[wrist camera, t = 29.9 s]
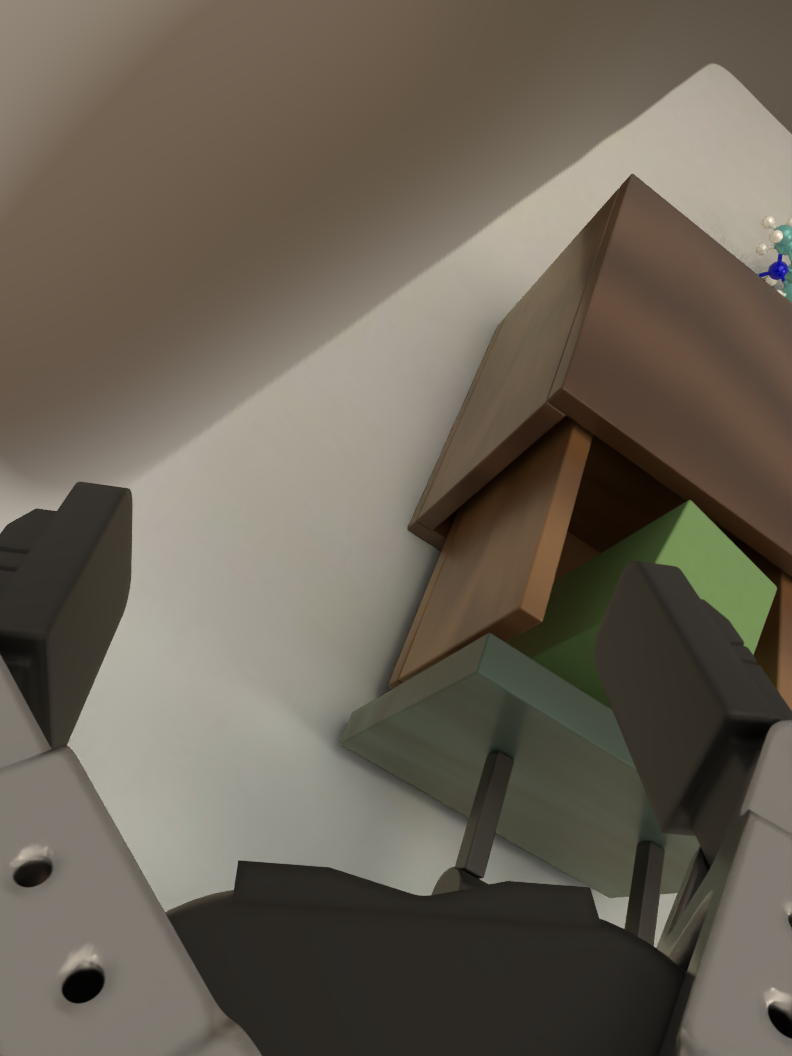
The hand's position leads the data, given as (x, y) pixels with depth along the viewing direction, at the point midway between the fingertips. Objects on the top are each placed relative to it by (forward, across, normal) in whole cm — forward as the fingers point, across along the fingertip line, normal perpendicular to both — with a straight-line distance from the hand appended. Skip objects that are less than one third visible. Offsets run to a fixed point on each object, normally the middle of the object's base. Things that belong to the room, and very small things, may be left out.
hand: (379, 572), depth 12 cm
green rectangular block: (+11, -8, +11) cm, 18 cm away
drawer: (+10, -8, +12) cm, 18 cm away
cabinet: (+22, -11, +8) cm, 26 cm away
